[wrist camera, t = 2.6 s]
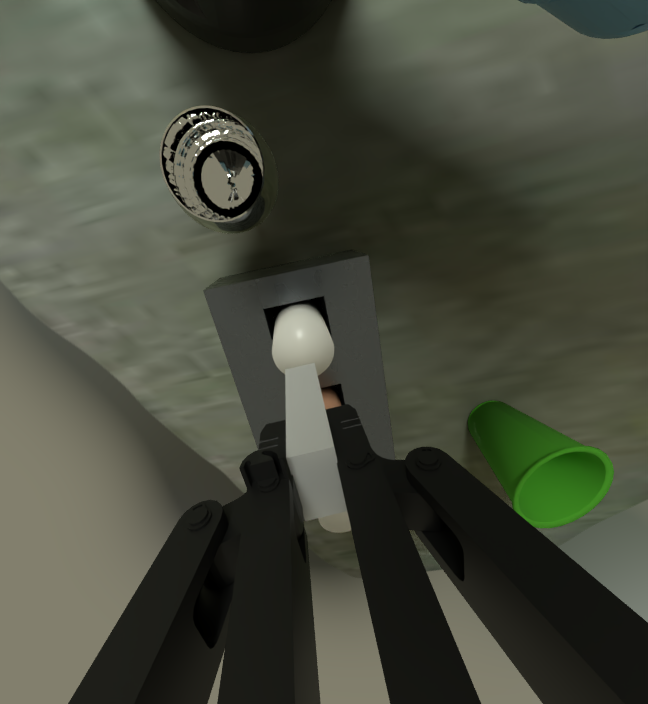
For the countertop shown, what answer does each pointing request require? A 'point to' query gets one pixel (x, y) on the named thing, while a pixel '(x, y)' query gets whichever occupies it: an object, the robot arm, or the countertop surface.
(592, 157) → the countertop surface
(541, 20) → the countertop surface
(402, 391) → the countertop surface
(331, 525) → the white plug
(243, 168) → the wineglass
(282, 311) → the white plug
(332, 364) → the grey socket block
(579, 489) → the cup
